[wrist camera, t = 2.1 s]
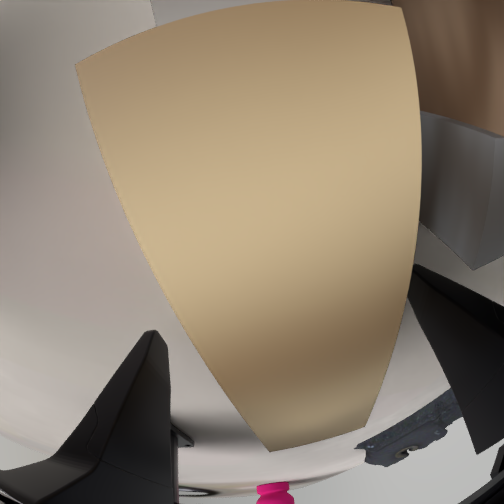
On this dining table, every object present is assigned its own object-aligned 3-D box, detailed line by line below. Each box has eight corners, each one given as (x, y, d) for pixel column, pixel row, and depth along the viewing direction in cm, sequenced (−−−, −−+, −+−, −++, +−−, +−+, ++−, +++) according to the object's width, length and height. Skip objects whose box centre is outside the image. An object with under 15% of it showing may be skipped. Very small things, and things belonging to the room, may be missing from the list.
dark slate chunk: (491, 371, 27) (504, 393, 23) (386, 445, 34) (393, 466, 30) (487, 350, 20) (505, 380, 16) (342, 448, 28) (350, 477, 24)
